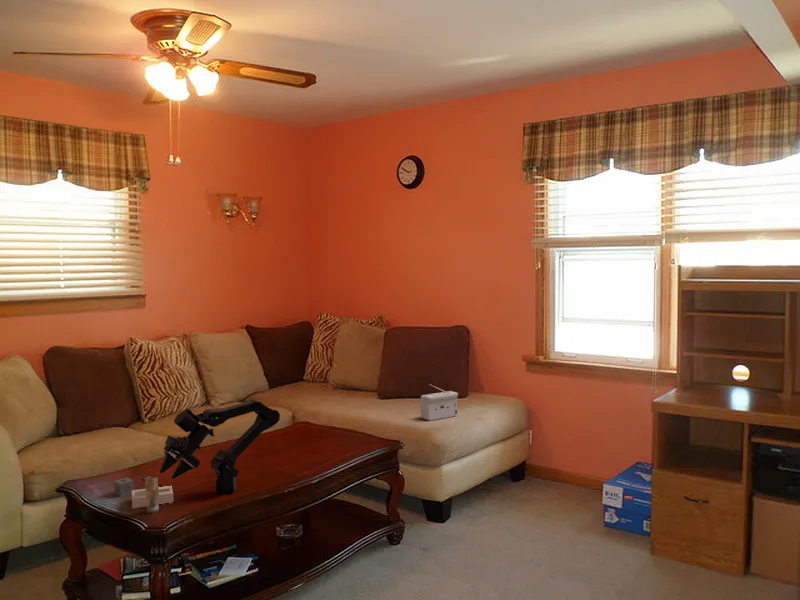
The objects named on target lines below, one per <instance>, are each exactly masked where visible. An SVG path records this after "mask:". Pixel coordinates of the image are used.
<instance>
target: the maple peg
mask: <svg viewBox="0 0 800 600" xmlns="http://www.w3.org/2000/svg"><path fill="white" fill-rule="evenodd" d="M147 477H148V478H147V479H145V480H144V485H145V489H146V500H150V505H149V506H147V507H146V514H149V513H152V514H156V513H155V512H157V511H158V512H159V511H160V505H157V504H155V499H156V498H158V497H159V491H158V487H159V486H158V477H149V476H147ZM158 512H157V513H158Z"/></svg>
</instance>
